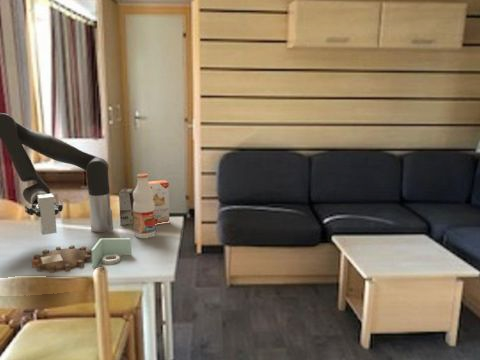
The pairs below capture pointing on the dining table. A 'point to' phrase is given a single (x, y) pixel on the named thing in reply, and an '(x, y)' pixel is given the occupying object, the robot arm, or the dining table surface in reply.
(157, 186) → the cracker box
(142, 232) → the fruit juice
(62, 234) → the dining table surface
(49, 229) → the brushed metal block
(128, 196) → the coffee box
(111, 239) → the l-shaped corner panel
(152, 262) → the dining table surface
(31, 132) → the robot arm
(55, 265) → the sprocket plate
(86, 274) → the dining table surface
